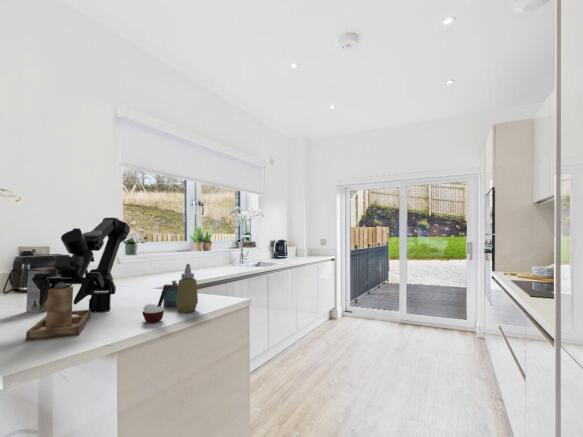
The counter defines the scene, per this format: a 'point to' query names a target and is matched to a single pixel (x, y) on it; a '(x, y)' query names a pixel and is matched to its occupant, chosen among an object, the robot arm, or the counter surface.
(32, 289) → the coffee box
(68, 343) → the counter surface
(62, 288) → the pepper mill
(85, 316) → the tray
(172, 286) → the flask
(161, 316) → the rice bowl with chopsticks
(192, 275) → the squeeze bottle
